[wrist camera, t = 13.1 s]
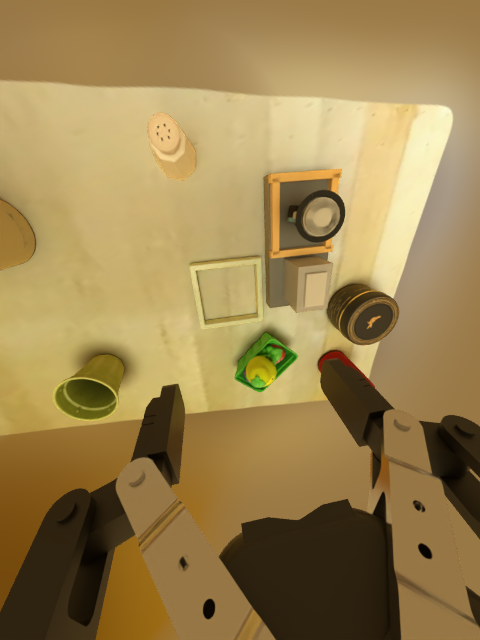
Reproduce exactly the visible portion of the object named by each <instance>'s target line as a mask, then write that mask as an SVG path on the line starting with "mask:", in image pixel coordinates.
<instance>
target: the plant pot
mask: <svg viewBox="0 0 480 640" xmlns="http://www.w3.org/2000/svg"><path fill="white" fill-rule="evenodd" d="M123 373H124V366H123V363H122V361H121V360H120V359H119V358H117V357H115V356H113V355H109V354H106V355H97V356H95V357H94V358H93V359H92V360H90V361H89V362H88V363H87V364H86V365H85V366H84V367H83V368H82V369H81V370H80V371H79V372H77V373H76V374H75V375H74V376H72V377H70V378H68V379H66V380H64V381H62V382H61V383H59V384H58V385H57V386H56V388H55V389H54V392H53V402H54V404H55V406H56V407H57V408H58V409H59V410H60V411H61V412H62V413H64V414H65V415H67V416H69V417H71V418H74V419H77V420H83V421H96V420H101V419H104V418H107V417H109V416H110V415H112V414H113V413H114V412H115V411H116V409H117V407H118V404H119V398H118V391H119V387H120V384H121V380H122V376H123Z"/></svg>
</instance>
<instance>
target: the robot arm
mask: <svg viewBox="0 0 480 640" xmlns="http://www.w3.org/2000/svg"><path fill="white" fill-rule="evenodd" d="M34 250H35V238H34V234H33V232H32V229H31V227H30V226H29V224H28V222H27V221H26V220H25V218H24V217H23V216H22V215H21V214H20V213H19V212H18V211H17V210H16V209H15V208H14V207H12V206H11V205H9V204H8V203H6V202H5V201H2V200H0V270H3V269H6V268H9V267H12V266H16V265H19V264H22V263H24V262H26V261H27V260H29V259H30V257H31V256H32V255H33V252H34ZM320 383H321V388H322V390H323V392H324V394H325V395H326V397H327V398H328V400H329V401H330V403H331V404H332V406H333V407H334V409H335V411H336V412H337V414H338V415H339V417H340V418H341V420H342V421H343V423H344V424H345V426H346V427H347V429H348V430H349V432H350V433H351V435H352V436H353V438H354V439H355V441H356V443H357V444H358V445H359V446H360V447H361V446H365V445H368V446H369V447H370V448H371V454H370V492H369V493H370V494H369V500H368V505H367V512H365V511H363V510H360V509H356V508H352V507H351V505H350V503H349V501H348V499H346V500H342V501H337V502H332V503H328V504H324V505H322V506H320V507H318V508H317V509H315V510H314V511H312V512H311V513H309V514H308V515H306V516H305V517H303V518H302V519H300V520H289V519H279V518H270V517H268V518H263V519H259V520H255V521H251V522H246V523H242V524H241V525H242V533H240V534H239V535H237V536H236V537H235V538H234V539H232V540H231V541H230V542H229V543H228V545H227V546H226V547H225V548H224V549H223V551H222V552H221V554H220V555H219V557H218V556H217V554H216V552H215V551H214V549H213V548H212V546H211V545H210V544H209V542H208V541H207V539H206V537H205V536H204V534H203V533H202V532H201V530H200V528H199V527H198V525H197V524H196V522H195V521H194V519H193V518H192V516H191V515H190V513H189V512H188V510H187V509H186V507H185V506H184V505H183V503H182V502H180V501H179V500H178V498H177V497H176V496H175V494H174V493H173V491H172V489H171V486H172V485H174V484H178V483H179V478H180V466H181V454H182V443H183V432H184V420H185V407H184V402H183V399H182V395H181V392H180V388H179V385H178V384H173V385H167V386H163V387H162V391H161V395H160V397H157V398H153V399H152V400H151V402H150V403H149V404H148V406H147V407H146V411H145V414H144V419H143V421H142V427H141V428H140V432H139V436H138V439H137V443H136V446H135V449H134V453H133V457H132V459H131V462H130V463H129V464H128V465H127V466H126V467H125V468H124V469H123V470H122V471H121V473H120V475H119V476H118V478H116V479H115V480H114V481H112V482H110V483H108V484H107V485H104V486H103V487H101V488H99V489H97V490H95V491H93V492H91V493H89V492H88V491H87V490H85V489H75V490H72V491H70V492H68V493H67V494H65V495H63V496H62V497H61V498H60V499H59V500H57V501H56V502H55V503H54V504H53V506H52V507H51V508H50V509H49V511H48V512H47V514H46V516H45V517H44V519H43V522H42V524H41V526H40V528H39V530H38V533H37V535H36V537H35V539H34V541H33V543H32V545H31V547H30V550H29V552H28V554H27V556H26V558H25V560H24V563H23V564H22V567H21V569H20V571H19V573H18V575H17V577H16V579H15V582H14V584H13V586H12V588H11V590H10V592H9V595H8V597H7V599H6V601H5V603H4V605H3V608H2V610H1V612H0V640H95V638H96V634H97V629H98V625H99V620H100V615H101V610H102V606H103V601H104V597H105V592H106V587H107V582H108V578H109V573H110V569H111V564H112V560H113V554H114V550H115V547H117V546H118V545H120V544H121V543H123V542H124V541H126V540H128V539H129V538H131V537H132V536H134V535H136V537H137V539H138V541H139V548H140V550H141V553H142V555H143V558H144V560H145V562H146V565H147V567H148V569H149V571H150V573H151V576H152V578H153V581H154V583H155V585H156V587H157V590H158V592H159V594H160V596H161V599H162V601H163V603H164V606H165V608H166V610H167V612H168V615H169V617H170V619H171V622H172V624H173V626H174V628H175V631H176V633H177V635H178V638H179V640H480V596H478V595H477V594H476V593H474V592H473V591H472V590H471V589H469V588H468V587H467V586H466V585H465V582H464V578H463V573H462V569H461V564H460V560H459V556H458V551H457V546H456V542H455V538H454V533H453V529H452V524H451V520H450V516H449V511H448V507H447V503H446V498H445V496H446V497H447V498H448V499H449V501H450V502H451V503H452V504H453V506H454V507H455V508H456V510H457V511H458V512H459V513H460V515H461V516H462V517H463V518H464V520H465V521H466V522H467V524H468V525H469V526H470V527H471V529H472V530H473V531H474V532H475V534H476V535H477V536H478V538H479V539H480V482H479V481H478V480H477V479H476V478H475V476H474V475H473V474H472V473H471V472H470V471H469V470H470V468H471V469H472V470H473V471H474V472H475V473H476V474H477V475H478V476H479V477H480V427H479V426H478V425H477V424H475V423H474V422H472V421H470V420H468V419H465V418H463V417H460V416H455V415H448V416H445V417H444V418H443V419H442V421H441V422H440V423H433V422H424V421H418V420H417V419H416V418H414V417H413V416H412V415H410V414H408V413H406V412H404V411H401V410H395V409H394V408H393V407H392V406H391V405H390V404H389V403H388V402H387V401H386V400H385V399H384V397H383V396H381V394H380V393H379V392H378V391H377V390H376V389H375V388H374V387H373V386H371V384H370V383H369V382H368V381H367V380H366V379H365V378H364V377H363V375H362V374H361V373H360V372H359V371H357V370H355V369H354V368H352V367H350V366H345V365H344V364H343V362H342V361H341V360H340V359H338V358H335V359H329V360H324V361H323V364H322V372H321V380H320Z"/></svg>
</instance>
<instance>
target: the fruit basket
mask: <svg viewBox="0 0 480 640" xmlns="http://www.w3.org/2000/svg"><path fill="white" fill-rule="evenodd" d="M297 358H298V355H297V354H296V353H295V352H293V351H292V350H290V349H289V348H288V347H286V346H285V345H284V344H283V343H281V342H279V341H278V340H277V339H275V338H274V337H273V336H270V335H269V334H268V333H264V334H263V335H262V336H261V338H260V339H259V340H258V341H257V342H256V343H255V344H254V345H253V347H252V348H251V349H249V350H248V351H247V353H246V354H245V356H243V357H242V358H241V359H240V360H239V362H238V367H237V372H236V374H235V380H237V381H239V382H241V383H242V384H244V385H246V386H248V387H250V388H252V389H253V390H255V391H257V392H263V391H264V390H265V389H266V388H267V387H268V386H269V385H270V384H271V383H272V382H273V381H274V380H276V379H277V378H278V377H279V376H280V375H281V374H282V373H283V372H284V371H285V370H286V369H287V368H288V367H289V366H290V365H291V364H292V363H293V362H294V361H295V360H296V359H297Z"/></svg>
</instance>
